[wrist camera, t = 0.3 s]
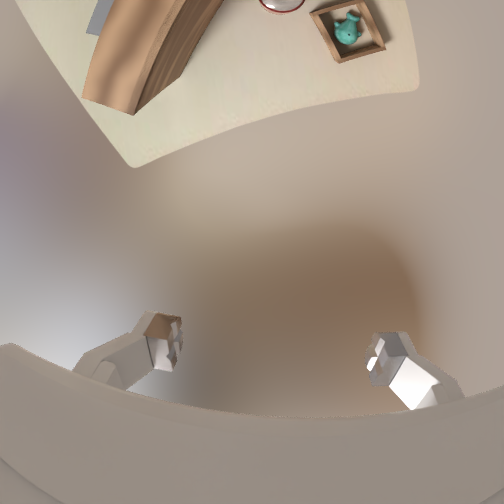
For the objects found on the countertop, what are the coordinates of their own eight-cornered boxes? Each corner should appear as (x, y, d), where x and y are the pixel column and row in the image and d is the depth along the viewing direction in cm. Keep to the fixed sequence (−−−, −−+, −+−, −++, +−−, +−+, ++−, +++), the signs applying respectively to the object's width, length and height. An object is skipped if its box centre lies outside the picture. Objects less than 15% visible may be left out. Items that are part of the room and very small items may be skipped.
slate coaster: (87, 32, 35) (85, 32, 34) (102, -6, 28) (101, -6, 27) (121, 40, 38) (120, 41, 38) (139, 1, 31) (138, 1, 31)
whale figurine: (326, 36, 38) (330, 37, 36) (339, 8, 33) (344, 7, 30) (352, 48, 39) (358, 50, 37) (365, 21, 34) (372, 22, 31)
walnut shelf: (142, 63, 43) (81, 97, 28) (188, -24, 28) (137, -43, 13) (179, 76, 46) (133, 115, 31) (230, -10, 31) (204, -29, 16)
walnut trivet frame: (309, 13, 34) (311, 12, 32) (357, -1, 30) (362, -2, 28) (335, 60, 42) (339, 63, 40) (380, 47, 38) (386, 49, 35)
